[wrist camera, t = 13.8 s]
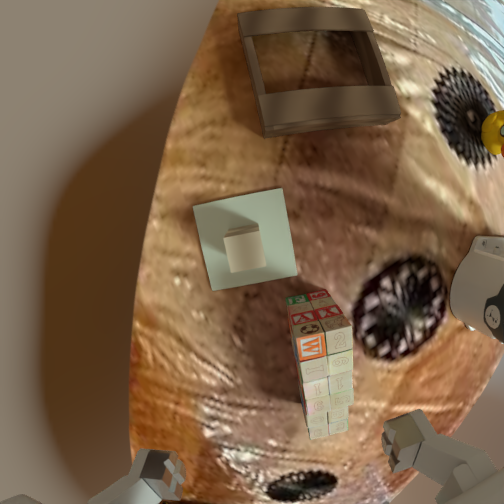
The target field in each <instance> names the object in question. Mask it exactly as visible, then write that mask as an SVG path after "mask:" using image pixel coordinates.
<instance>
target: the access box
mask: <svg viewBox="0 0 504 504" xmlns="http://www.w3.org/2000/svg"><path fill="white" fill-rule="evenodd" d="M237 16H238V27H239V34H240V37H241V41H242V45H243V49H244V54H245V58H246V62H247V66H248V70H249V74H250V79H251V83H252V87H253V91H254V96H255V100H256V105H257V109H258V114H259V118H260V123H261V127H262V132H263V137H264V139H265V138H271V137H277V136H283V135H289V134H296V133H303V132H311V131H319V130H328V129H337V128H348V127H360V126H375V125H386V124H388V123H390V122H393V121H395V120H397V119H400V118H401V117H400V114H401V111H400V107H399V104H398V100H397V96H396V93H395V90H394V86H392V85H391V82H390V78H389V75H388V72H387V69H386V66H385V63H384V60H383V58H382V55H381V52H380V49H379V47H378V44H377V42H376V39H375V37H374V34H373V31H374V30H373V28H372V26H371V23H370V21H369V19H368V17H367V14H366V12H365V10H363V9H356V8H339V7H298V8H281V9H269V10H260V11H251V12H244V13H238V14H237ZM328 30H336V31H350V33H351V35H352V38H353V41H354V43H355V46H356V49H357V52H358V54H359V57H360V60H361V63H362V66H363V69H364V72H365V75H366V79H367V82H368V85H369V86H342V87H325V88H313V89H302V90H293V91H285V92H278V93H271V94H266V92H265V88H264V83H263V79H262V75H261V71H260V67H259V63H258V59H257V55H256V52H255V48H254V44H253V40H252V36H258V35H266V34H274V33H285V32H299V31H328Z"/></svg>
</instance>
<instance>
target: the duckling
mask: <svg viewBox="0 0 504 504" xmlns="http://www.w3.org/2000/svg"><path fill="white" fill-rule="evenodd" d="M481 139H482V142H483V144H484V146H485V147H486V149H487V150H488V151H489V152H490V153H492V154H494V155H497V154H500V153H501V154H502V156H503V157H504V110H502V111H497V112H494V113H492V114H490V115H489V116H488V117H487V118H486V119H485V121H484V122H483V124H482V133H481Z"/></svg>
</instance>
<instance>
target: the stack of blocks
mask: <svg viewBox="0 0 504 504" xmlns="http://www.w3.org/2000/svg"><path fill="white" fill-rule="evenodd" d="M285 299H286V306H287V312H288V322H289V328H290V334H291V341H292V348H293V352H294V356H295V362H296V367H297V373H298V385H299V392H300V396H301V403H302V407H303V412H304V417H305V422H306V426H307V427H308V432H309V436H310V440H311V439H316V438H320V437H325V436H329V435H332V434H336V433H340V432H344V431H347V430H348V406H350V405H353V404H354V397H353V375H352V370H353V351H352V348H353V341H352V326H351V324H350V323H349V322H348V320H347V319H346V317H345V316H344V314H343V312H342V311H341V309H340V308H339V307H338V305H337V304H336V303H335V302H334V300H333V299H332V298H331V296H330V294H329V293H328V291H327V290H321V291H316V292H312V293H307V294H303V295H298V296H293V297H288V298H285Z"/></svg>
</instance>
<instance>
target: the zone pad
mask: <svg viewBox="0 0 504 504" xmlns="http://www.w3.org/2000/svg"><path fill="white" fill-rule="evenodd" d="M193 211H194V215H195V220H196V224H197V229H198V233H199V238H200V242H201V246H202V251H203V255H204V259H205V263H206V267H207V272H208V276H209V280H210V284H211V288H212V291H216V290H222V289H227V288H233V287H238V286H244V285H249V284H254V283H260V282H265V281H270V280H275V279H281V278H286V277H291V276H296V275H297V269H296V263H295V257H294V251H293V245H292V239H291V233H290V228H289V222H288V217H287V211H286V206H285V201H284V195H283V190H282V188H279V189H273V190H268V191H263V192H258V193H252V194H247V195H242V196H237V197H233V198H228V199H223V200H218V201H214V202H209V203H205V204H200V205H196V206H193ZM257 223H258V225H259V230H260V235H261V240H262V245H263V250H264V255H265V260H266V266H265V267H260V268H255V269H249V270H244V271H239V272H234V273H231V271H230V266H229V262H228V257H227V253H226V248H225V244H224V239H223V238H224V236H225V234H226V233H227V231H228V229H232V228H237V227H242V226H247V225H252V224H257Z"/></svg>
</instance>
